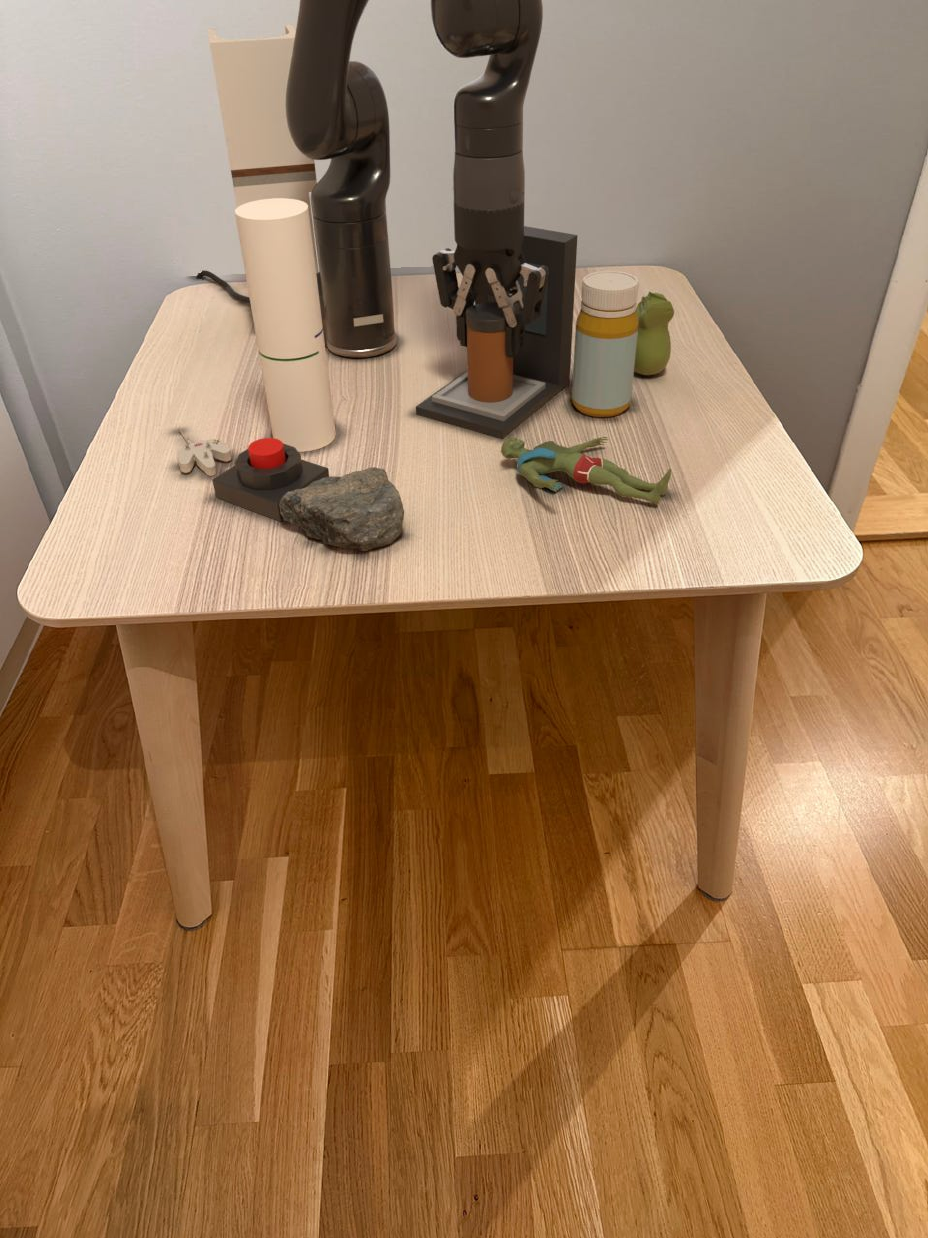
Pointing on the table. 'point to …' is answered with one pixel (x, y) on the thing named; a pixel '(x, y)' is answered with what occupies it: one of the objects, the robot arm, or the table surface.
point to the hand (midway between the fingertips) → (490, 348)
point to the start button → (266, 453)
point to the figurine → (578, 468)
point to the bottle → (605, 344)
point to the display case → (260, 120)
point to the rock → (348, 509)
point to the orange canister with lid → (488, 354)
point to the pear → (653, 334)
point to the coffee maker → (544, 347)
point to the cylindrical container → (287, 320)
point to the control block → (266, 482)
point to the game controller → (202, 455)
